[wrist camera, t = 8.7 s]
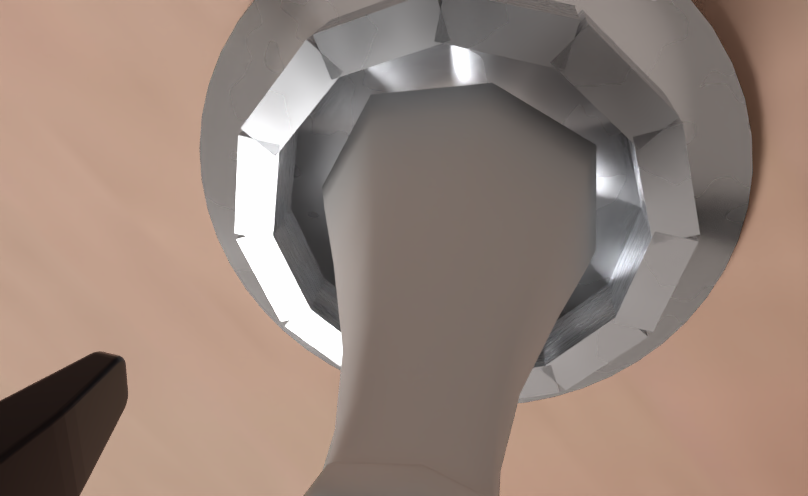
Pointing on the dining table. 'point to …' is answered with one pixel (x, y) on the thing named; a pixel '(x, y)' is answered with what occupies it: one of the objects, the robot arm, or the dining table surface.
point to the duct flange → (532, 83)
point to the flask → (447, 281)
